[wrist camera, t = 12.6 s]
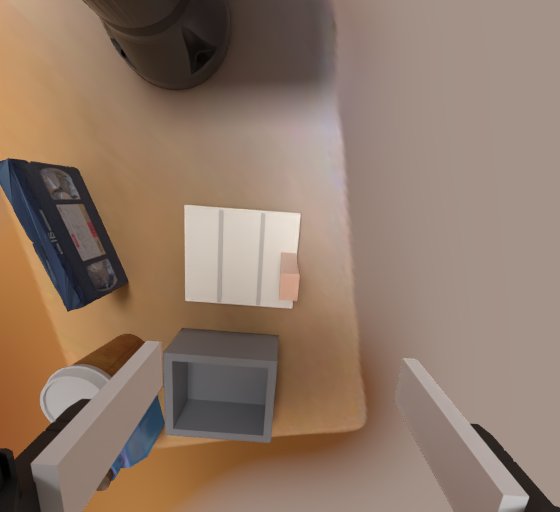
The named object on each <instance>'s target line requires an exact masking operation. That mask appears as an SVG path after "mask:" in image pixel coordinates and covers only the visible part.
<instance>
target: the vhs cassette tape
mask: <svg viewBox="0 0 560 512" xmlns="http://www.w3.org/2000/svg"><path fill="white" fill-rule="evenodd" d="M0 185H1V187H2V189H3V191H4V193H5V195H6V196H7V198H8V200H9V202H10V203H11V205H12V207H13V209H14V212H15V214H16V216H17V218H18V219H19V221H20V223H21V225H22V227H23V229H24V231H25V232H26V234H27V236H28V238H29V239H30V240H31V241H32V242H33V243H34V244H33V247H34V249H35V251H36V253H37V255H38V257H39V258H40V260H41V262H42V264H43V266H44V268H45V270H46V272H47V274H48V276H49V277H50V279H51V281H52V283H53V285H54V287H55V288H56V290H57V291H58V293H59V295H60V296H61V298H62V300H63V303H64V305H65V307H66V309H67V311H70V310H74V309H78V308H82V307H84V306H86V305H88V304H89V303H91V302H93V301H95V300H96V299H99V298H101V297H103V296H105V295H107V294H109V293H111V292H112V291H114V290H115V289H118V288H119V287H121V286H123V285H124V284H126V283H127V282H128V279H127V276H126V274H125V272H124V270H123V267H122V265H121V263H120V261H119V258H118V256H117V254H116V251H115V249H114V247H113V245H112V243H111V240H110V238H109V236H108V234H107V231H106V229H105V227H104V225H103V223H102V220H101V218H100V216H99V214H98V212H97V209H96V207H95V205H94V203H93V201H92V198H91V196H90V194H89V192H88V190H87V188H86V185H85V183H84V181H83V179H82V177H81V175H80V172H79V170H78V169H77V168H74V167H68V166H67V167H66V166H61V165H52V164H46V163H40V162H33V161H31V162H30V163H28V162H27V161H25V160H19V159H9V158H8V159H6V160H3V161H0Z"/></svg>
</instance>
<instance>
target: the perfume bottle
mask: <svg viewBox="0 0 560 512" xmlns="http://www.w3.org/2000/svg"><path fill="white" fill-rule="evenodd" d="M164 424H165V422H164V419H163V415H162V411H161V407H160V403H159V400H158V396H157V395H156V397H155V398H154V400H153V402H152V403H151V405H150V406H149V408H148V409H147V411H146V413H145V414H144V416H143V417H142V419H141V420H140V422H139V424H138V425H137V427H136V428H135V430H134V431H133V433H132V435H131V436H130V438H129V439H128V441H127V442H126V444H125V445H124V447H123V449H122V450H121V452H120V453H119V455H118V456H117V458H116V460H115V461H114V463H113V464H112V466H111V467H110V469H109V471H108V472H107V474H106V475H105V477H104V478H103V480H102V482H101V483H100V485H99V486H98V488H97V489H96V490H97V491H103V490H105V489H107V488H108V487H109V485H110V482H111V481H112V480H114V479H115V478H116V476H117V474H118V472H119V471H120V468H127V467H131V466H133V465H134V464H136V463H138V462H139V461H141V460H143V459H144V458H146V457H147V456H148V454H149V452H150V451H151V449H152V447H153V445H154V443H155V441H156V439H157V437H158V435H159V434H160V432H161V430H162V428H163V426H164Z"/></svg>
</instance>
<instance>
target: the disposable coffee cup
mask: <svg viewBox="0 0 560 512" xmlns="http://www.w3.org/2000/svg"><path fill="white" fill-rule="evenodd" d="M143 344H144V342H143V341H142V340H141V339H140V338H138V337H136V336H134V335H129V334H124V335H120V336H118V337H117V338H115V339H113V340H112V341H110V342H109V343H107V344H105V345H104V346H102V347H100V348H99V349H97V350H96V351H94V352H92V353H91V354H89V355H87V356H86V357H84V358H82V359H81V360H79V361H78V362H76V363H74V364H73V365H71V366H68V367H64V368H62V369H60V370H58V371H56V372H55V373H54V374H53V375H51V377H50V378H49V380H48V382H47V384H46V385H45V387H44V388H43V390H42V392H41V396H40V404H41V408H42V411H43V413H44V414H45V416H46V417H47V419H48V420H49V421H50V422H51V423H52V422H55V420H56V418H58V417H59V416H60V415H61V414H62V413H63V412H64V411H65V410H66V409H67V408H68V407H69V406H71V405H73V404H74V403H76V402H77V401H79V400H81V399H92V398H93V397H94V396H95V395H96V394H97V393H98V392H99V391H100V390H101V389H102V388H103V387H104V386H105V385H106V383H107V382H108V381H109V380H110V379H111V378H112V377H113V376H114V375H115V374H116V373H117V372H118V371H119V370H120V369H121V368H122V367H123V365H124V364H125V363H126V362H127V361H128V360H129V359H130V358H131V357H132V356H133V355H134V354H135V353H136V352H137V351H138V350H139V349H140V347H141V346H142V345H143Z"/></svg>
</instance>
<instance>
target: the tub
mask: <svg viewBox="0 0 560 512" xmlns="http://www.w3.org/2000/svg"><path fill="white" fill-rule="evenodd" d="M163 356H164V398H165V435H172V436H186V437H199V438H212V439H226V440H239V441H253V442H267V443H271V432H272V421H273V409H274V397H275V385H276V374H277V362H278V335H265V334H252V333H239V332H226V331H213V330H199V329H186V328H182V329H181V331H180V332H179V333H178V335H177V336H176V337H175V338H174V340H173V341H172V342H171V344H170V345H169V346H168V347H167V349H166V350H165V351H164V353H163Z"/></svg>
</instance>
